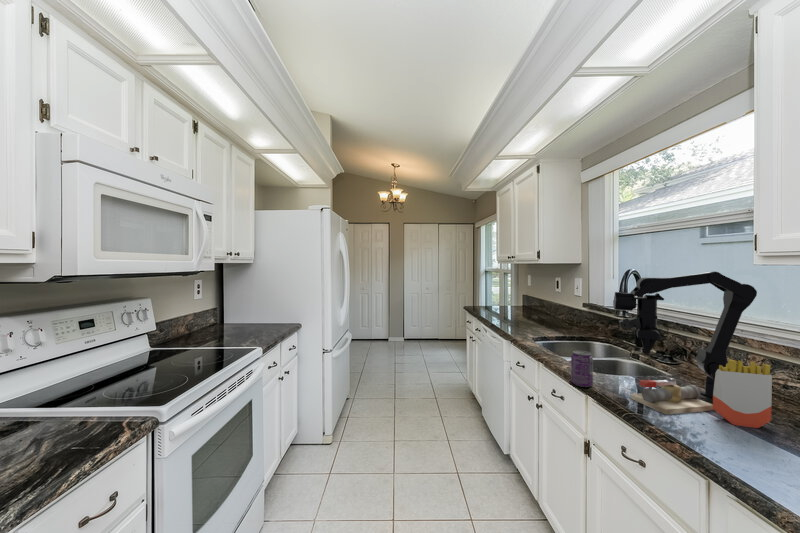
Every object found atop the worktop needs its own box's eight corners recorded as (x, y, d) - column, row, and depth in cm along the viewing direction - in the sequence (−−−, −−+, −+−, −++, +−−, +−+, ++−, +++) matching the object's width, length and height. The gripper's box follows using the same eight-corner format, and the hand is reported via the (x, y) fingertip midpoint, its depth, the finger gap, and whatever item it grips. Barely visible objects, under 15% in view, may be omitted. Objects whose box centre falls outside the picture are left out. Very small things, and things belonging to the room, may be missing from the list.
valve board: (674, 394, 113) (675, 377, 113) (714, 410, 102) (714, 390, 102) (630, 398, 110) (630, 380, 110) (666, 414, 98) (666, 394, 98)
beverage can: (587, 381, 126) (587, 350, 126) (596, 388, 118) (596, 355, 118) (567, 381, 126) (568, 349, 126) (575, 387, 119) (576, 354, 119)
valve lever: (670, 383, 107) (670, 377, 107) (677, 386, 105) (677, 379, 105) (639, 385, 105) (639, 378, 105) (645, 387, 103) (645, 381, 103)
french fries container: (711, 416, 97) (712, 355, 97) (758, 422, 94) (759, 359, 94) (721, 423, 93) (722, 359, 93) (771, 429, 90) (772, 363, 90)
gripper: (620, 307, 133) (619, 346, 133) (620, 312, 117) (619, 356, 117) (655, 309, 127) (654, 350, 127) (660, 315, 111) (659, 361, 111)
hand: (646, 354), depth 121 cm, fingers closed
